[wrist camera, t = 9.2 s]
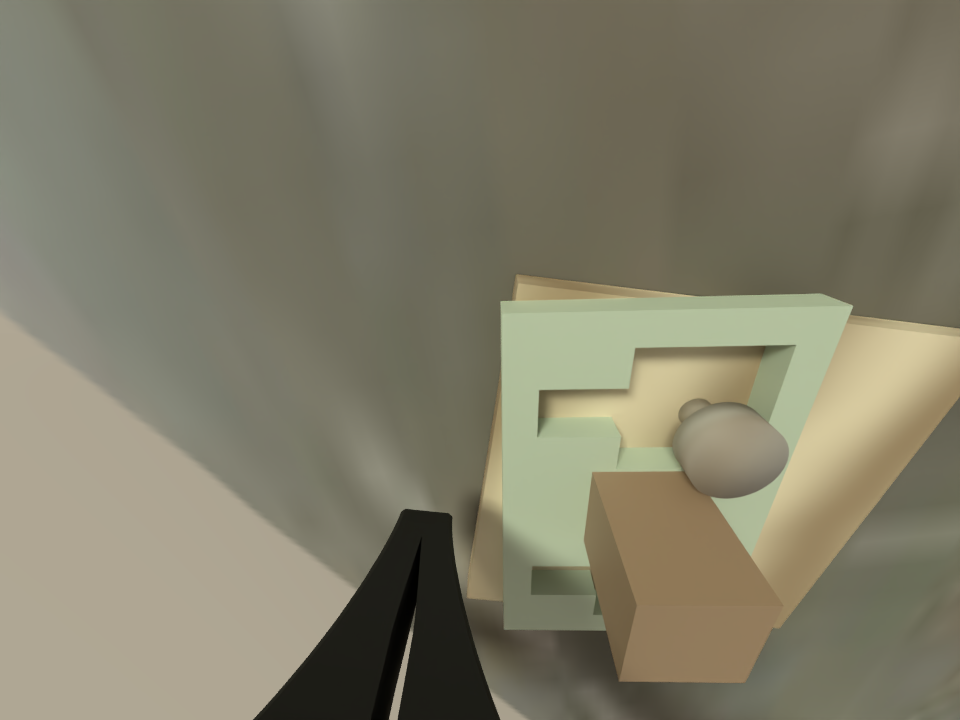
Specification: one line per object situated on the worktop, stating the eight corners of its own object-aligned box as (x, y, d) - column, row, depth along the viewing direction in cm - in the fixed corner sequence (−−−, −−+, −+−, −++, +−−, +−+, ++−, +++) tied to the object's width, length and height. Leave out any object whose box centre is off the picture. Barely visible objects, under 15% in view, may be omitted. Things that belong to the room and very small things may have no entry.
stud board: (962, 329, 12) (1124, 383, 9) (764, 604, 17) (820, 693, 15) (516, 274, 11) (525, 312, 8) (468, 575, 17) (463, 660, 14)
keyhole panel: (821, 293, 10) (1080, 391, 6) (707, 605, 16) (791, 775, 12) (500, 301, 10) (508, 400, 6) (503, 604, 16) (508, 769, 12)
